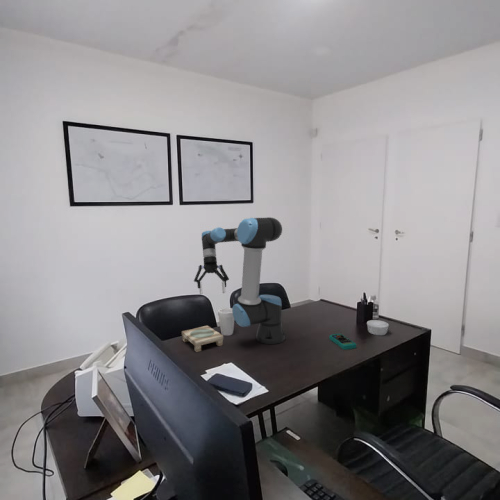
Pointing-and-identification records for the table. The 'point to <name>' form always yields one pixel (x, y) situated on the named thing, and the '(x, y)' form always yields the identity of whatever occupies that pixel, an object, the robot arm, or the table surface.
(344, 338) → the digital multimeter
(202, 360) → the table surface
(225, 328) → the foam cup
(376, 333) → the ramekin
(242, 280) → the robot arm
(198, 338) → the stand
